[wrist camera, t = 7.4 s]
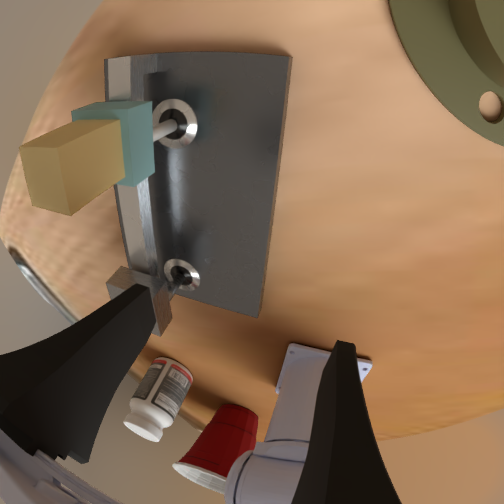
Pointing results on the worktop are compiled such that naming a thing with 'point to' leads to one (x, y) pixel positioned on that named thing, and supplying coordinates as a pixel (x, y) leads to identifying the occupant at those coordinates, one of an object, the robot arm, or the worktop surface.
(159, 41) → the worktop surface
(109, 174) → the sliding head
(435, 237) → the worktop surface
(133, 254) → the rail
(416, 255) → the worktop surface
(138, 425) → the pill bottle
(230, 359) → the worktop surface
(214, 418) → the plastic cup
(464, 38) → the flange
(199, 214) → the hole plate
